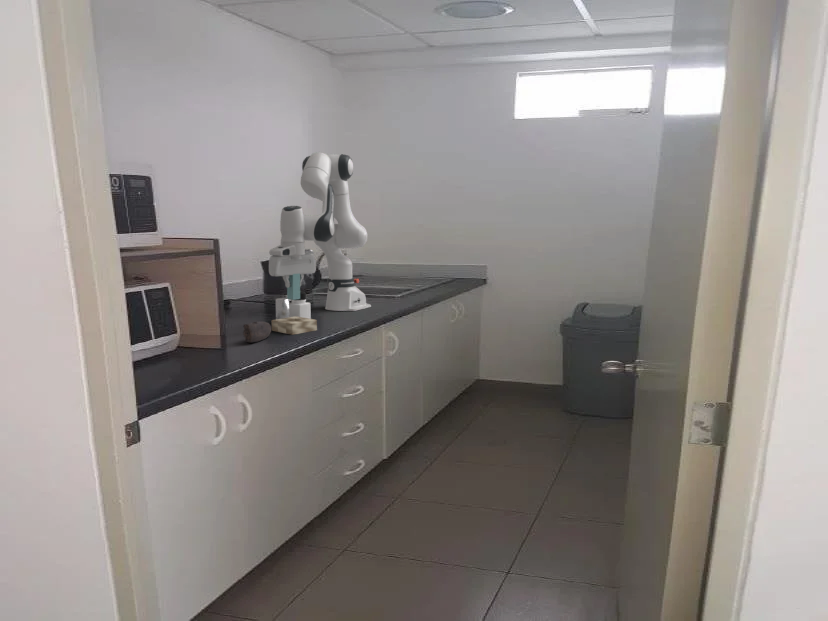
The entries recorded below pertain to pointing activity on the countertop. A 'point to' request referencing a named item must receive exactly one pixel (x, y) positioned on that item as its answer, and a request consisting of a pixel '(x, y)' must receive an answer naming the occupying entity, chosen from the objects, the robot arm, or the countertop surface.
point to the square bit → (294, 287)
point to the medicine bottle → (300, 307)
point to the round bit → (282, 308)
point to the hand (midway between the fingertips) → (293, 286)
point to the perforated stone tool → (256, 331)
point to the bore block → (294, 325)
